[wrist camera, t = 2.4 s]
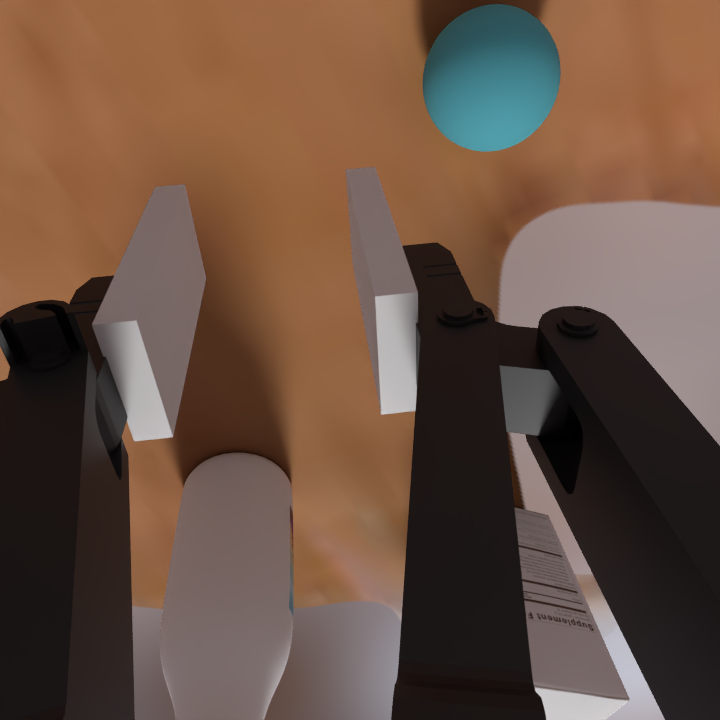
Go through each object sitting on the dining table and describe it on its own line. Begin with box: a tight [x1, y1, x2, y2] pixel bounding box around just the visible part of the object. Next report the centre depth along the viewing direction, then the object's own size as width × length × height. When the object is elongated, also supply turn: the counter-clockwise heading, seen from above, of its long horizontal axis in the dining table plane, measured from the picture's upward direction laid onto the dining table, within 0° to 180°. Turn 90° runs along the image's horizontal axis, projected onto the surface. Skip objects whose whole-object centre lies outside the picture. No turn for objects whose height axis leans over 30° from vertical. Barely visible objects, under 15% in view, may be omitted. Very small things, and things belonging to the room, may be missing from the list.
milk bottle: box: [160, 452, 293, 720], centre depth 38 cm, size 8×8×20 cm
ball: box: [423, 4, 560, 151], centre depth 28 cm, size 6×6×6 cm
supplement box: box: [515, 507, 629, 720], centre depth 46 cm, size 9×9×15 cm
